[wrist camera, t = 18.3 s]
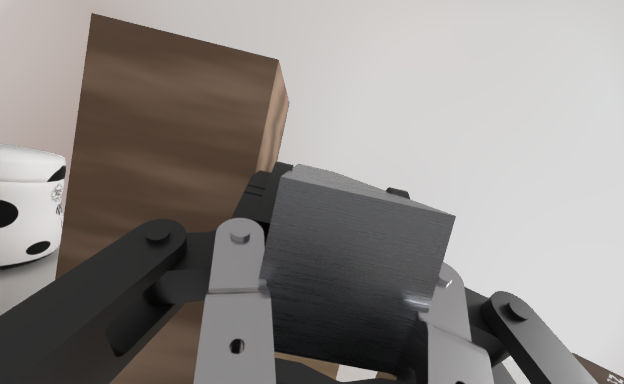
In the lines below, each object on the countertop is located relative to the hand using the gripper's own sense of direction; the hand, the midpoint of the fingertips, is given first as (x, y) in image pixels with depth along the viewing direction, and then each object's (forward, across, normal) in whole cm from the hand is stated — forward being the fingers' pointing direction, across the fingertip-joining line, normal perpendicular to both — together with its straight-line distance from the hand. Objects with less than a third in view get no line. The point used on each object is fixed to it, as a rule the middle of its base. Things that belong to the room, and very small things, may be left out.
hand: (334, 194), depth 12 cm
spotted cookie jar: (+17, +48, +40) cm, 65 cm away
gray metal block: (+5, 0, +7) cm, 8 cm away
